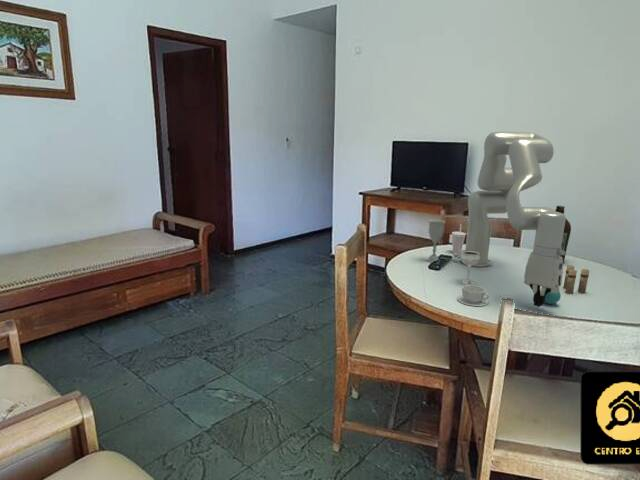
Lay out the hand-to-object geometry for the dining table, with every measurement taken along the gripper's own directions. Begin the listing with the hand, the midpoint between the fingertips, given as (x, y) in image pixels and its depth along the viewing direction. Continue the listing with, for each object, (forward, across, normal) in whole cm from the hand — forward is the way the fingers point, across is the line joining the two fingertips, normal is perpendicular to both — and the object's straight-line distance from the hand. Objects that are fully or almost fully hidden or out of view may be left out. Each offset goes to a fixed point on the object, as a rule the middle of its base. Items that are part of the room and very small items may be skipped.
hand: (538, 305), depth 138 cm
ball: (-2, 0, -8) cm, 8 cm away
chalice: (+2, +53, -15) cm, 55 cm away
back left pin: (+1, +3, -28) cm, 29 cm away
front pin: (+1, 0, -24) cm, 24 cm away
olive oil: (+2, +22, -59) cm, 63 cm away
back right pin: (+1, -2, -29) cm, 29 cm away
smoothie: (+2, +55, -35) cm, 65 cm away
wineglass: (+2, +28, -4) cm, 29 cm away
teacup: (+2, +17, +11) cm, 20 cm away
